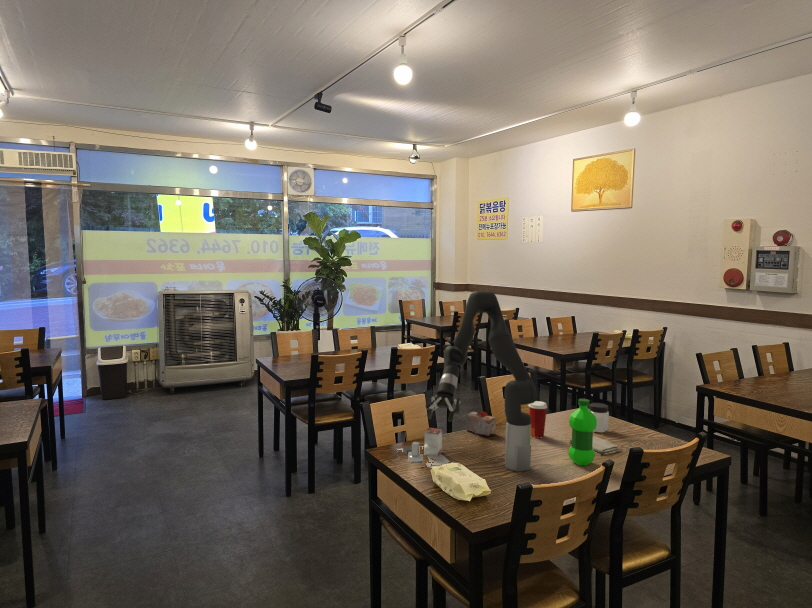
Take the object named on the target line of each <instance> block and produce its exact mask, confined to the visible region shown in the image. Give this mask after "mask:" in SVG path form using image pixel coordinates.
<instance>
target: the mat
mask: <svg viewBox="0 0 812 608" xmlns="http://www.w3.org/2000/svg"><path fill="white" fill-rule="evenodd" d="M420 447H422V449H423V447H424V445H422V446H421V445H420ZM396 449H397V450H402V452H403V447H401V448H396ZM397 450H396V451H397ZM427 457H428V459H429V462H431V463H428V462H427V463H426V465H427V467H429V468H431V467H430V466H431V464H432V465H441V464H445V463H448V462H451V461H450V460H449V459H448V458H447V457H445V456H444V455H443V454H442V453H441V454H440V455H439V456H438V457H436V456H429V455H427ZM435 457H436V458H435ZM430 458H433V459H434V460H435V459H436V460H435V461H434V460H432V459H430ZM432 462H434V463H432Z"/></svg>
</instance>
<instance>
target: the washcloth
mask: <svg viewBox="0 0 812 608" xmlns="http://www.w3.org/2000/svg"><path fill="white" fill-rule="evenodd" d="M570 442H571V443H572V438H571V439H569V443H570ZM571 443H570V444H571ZM592 448H593V450H594V451H595V452H597V453H599V454H605V453H609V452H613V451H617V450H620V448H619V447H618V445H617V444H615V443H612V442H611V441H610V440H606V439H604V438H601V437H597V436H596V435H593V442H592ZM599 454H598V455H599Z"/></svg>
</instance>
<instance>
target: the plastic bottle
mask: <svg viewBox="0 0 812 608" xmlns="http://www.w3.org/2000/svg"><path fill="white" fill-rule="evenodd" d="M577 401H578V402H577V404H578V405H577V406H579V407H578V408H577V409H575V410H574V411H573V412H572V413H570V415H569V419H568V421H569V422H568V423H569V426H570V428H571V430H572V431H571V439H572V444H571V446H570V447H569V449H568V456H569V459H570V460H571V461H572V462H573V463H574V464H575V463H576V465H577V464H579V465H578V466H581V465H586V466H588V465H590V464H591V463H592V462H593V461H594V459H595V453H594V450H593V448H592V442H593V436H594V432H593V431H594V430H595V429H596V426H597V419H596V416H595V415H594V414H593V413H592V412H591V411H590V410H589V405H590V401H591V400H590V399H587V398H579V399H578V400H577ZM587 464H588V465H587Z"/></svg>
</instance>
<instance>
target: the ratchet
mask: <svg viewBox="0 0 812 608" xmlns="http://www.w3.org/2000/svg"><path fill="white" fill-rule="evenodd" d="M420 444H421V443H420V442H418V441H413V442H412V443H411V445H406V446H402V448H403V452H404V453H405V454H406V455H407V456H408V461H409V462H411V463H422V462H423V455H422V454H420V446H421V445H420Z"/></svg>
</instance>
